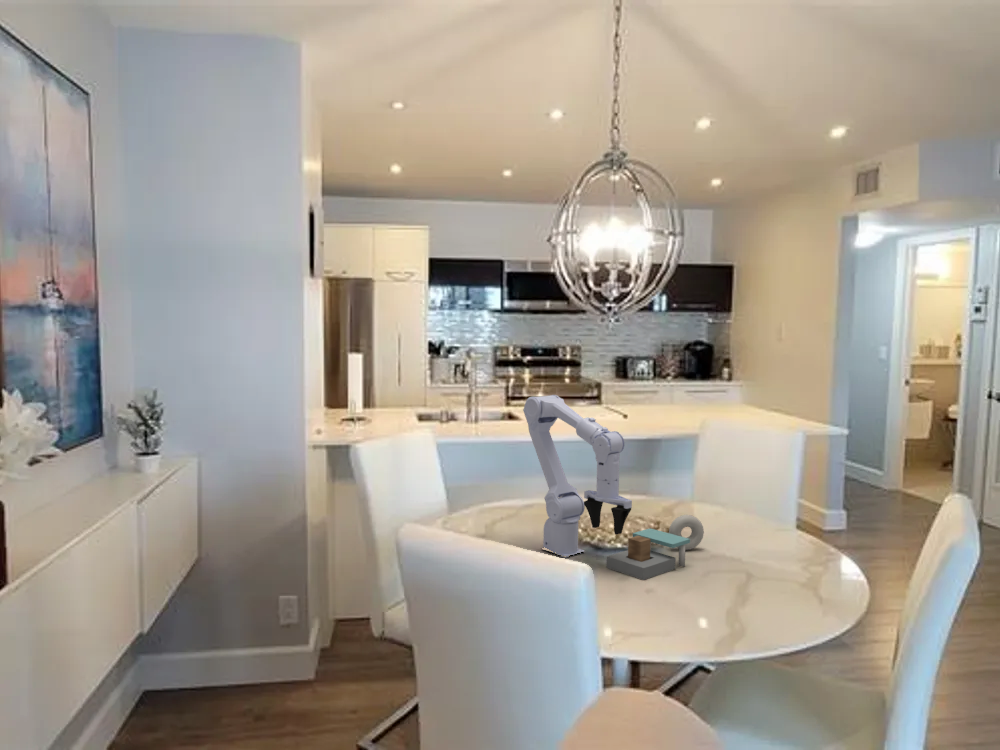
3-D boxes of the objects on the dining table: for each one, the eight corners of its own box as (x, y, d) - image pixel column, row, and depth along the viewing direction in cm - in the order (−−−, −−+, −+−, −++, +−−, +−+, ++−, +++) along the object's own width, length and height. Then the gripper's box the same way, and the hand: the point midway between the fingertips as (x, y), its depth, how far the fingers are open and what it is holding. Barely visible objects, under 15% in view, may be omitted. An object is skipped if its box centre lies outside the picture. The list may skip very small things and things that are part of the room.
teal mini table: (632, 558, 201) (632, 533, 200) (649, 553, 205) (650, 528, 205) (672, 571, 191) (672, 544, 190) (689, 565, 196) (690, 538, 195)
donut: (670, 552, 207) (671, 516, 206) (666, 548, 210) (667, 513, 209) (705, 551, 208) (706, 515, 207) (700, 547, 211) (701, 512, 211)
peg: (627, 568, 192) (628, 538, 192) (637, 565, 195) (638, 535, 194) (640, 572, 189) (640, 541, 189) (649, 569, 192) (650, 539, 191)
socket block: (606, 567, 193) (606, 556, 193) (638, 557, 201) (638, 546, 201) (643, 580, 184) (643, 568, 184) (675, 569, 192) (675, 557, 192)
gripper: (576, 476, 196) (575, 527, 197) (619, 485, 185) (618, 539, 186) (594, 472, 200) (593, 522, 201) (637, 481, 189) (636, 534, 190)
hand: (606, 530), depth 194 cm, fingers open, 7 cm apart
